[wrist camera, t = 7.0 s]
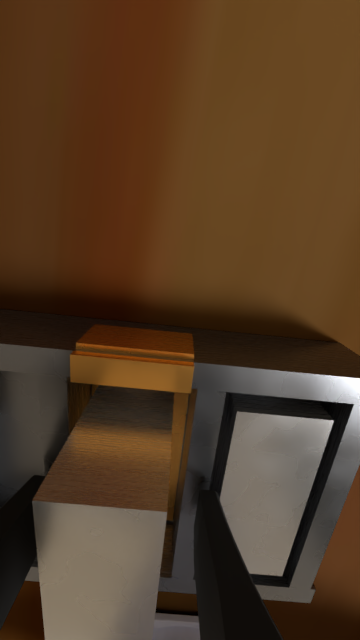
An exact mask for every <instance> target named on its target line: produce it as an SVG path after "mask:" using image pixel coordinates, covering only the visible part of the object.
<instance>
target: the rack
mask: <svg viewBox="0 0 360 640" xmlns="http://www.w3.org/2000/svg"><path fill="white" fill-rule="evenodd" d="M98 385H107V386H118V387H128V388H139V389H149V390H160V391H170V392H174V404H173V421H172V439H171V456H170V474H169V491H168V508H167V519H166V527H165V536H164V544H163V552H162V561H161V569H160V578H159V586H158V591H164V592H176V593H189V594H196V583H195V571H194V521H195V515H196V509H197V503H198V497H199V491H200V489H202V490H213V491H216V492H217V493H218V496H219V499H220V502H221V505H222V508H223V511H224V514H225V517H226V519H227V522H228V524H229V527H230V530H231V532H232V535H233V537H234V540H235V542H236V544H237V547H238V549H239V551H240V553H241V556H242V558H243V560H244V563H245V565H246V567H247V569H248V571H249V573H250V576H251V578H252V580H253V582H254V584H255V586H256V588H257V590H258V592H259V594H260V596H261V598H262V599H264V600H277V601H290V602H302V603H311V600H312V598H313V595H314V593H315V590H316V589H315V586H314V584H313V582H314V579H315V576H316V574H317V571H318V569H319V566H320V564H321V561H322V559H323V556H324V554H325V551H326V548H327V546H328V543H329V541H330V538H331V536H332V533H333V531H334V528H335V525H336V523H337V520H338V518H339V515H340V513H341V510H342V508H343V505H344V503H345V500H346V497H347V495H348V492H349V490H350V487H351V485H352V482H353V480H354V477H355V474H356V472H357V469H358V467H359V464H360V356H359V355H357V354H356V353H354V352H353V351H351V350H350V349H348V348H347V347H345V346H344V345H342V344H341V343H337V342H327V341H317V340H307V339H297V338H287V337H277V336H267V335H257V334H247V333H237V332H227V331H217V330H206V329H196V328H186V327H176V326H166V325H156V324H146V323H136V322H126V321H116V320H106V319H96V318H86V317H76V316H66V315H56V314H46V313H36V312H26V311H16V310H6V309H0V508H1V507H2V506H3V505H4V504H5V503H6V502H7V501H8V500H9V499H10V498H11V497H12V496H13V495H14V494H15V493H16V492H17V491H18V490H19V489H20V488H21V487H22V486H23V485H24V484H25V483H26V482H27V481H28V480H29V479H30V478H31V477H32V476H34V475H42V476H47V474H48V472H49V470H50V469H51V467H52V465H53V463H54V462H55V460H56V458H57V456H58V455H59V453H60V451H61V450H62V448H63V446H64V444H65V443H66V441H67V439H68V437H69V436H70V434H71V432H72V430H73V429H74V427H75V425H76V423H77V422H78V420H79V418H80V417H81V415H82V413H83V411H84V410H85V408H86V406H87V404H88V403H89V401H90V399H91V397H92V396H93V394H94V392H95V391H96V389H97V387H98ZM25 581H38V582H40V580H39V569H38V559H37V556H36V558H35V560H34V562H33V564H32V566H31V568H30V570H29V572H28V574H27V576H26V579H25Z"/></svg>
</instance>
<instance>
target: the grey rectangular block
mask: <svg viewBox="0 0 360 640" xmlns="http://www.w3.org/2000/svg"><path fill="white" fill-rule="evenodd" d="M173 404H174V392H170V391H160V390H149V389H139V388H128V387H118V386H107V385H98V387H97V389H96V391H95V392H94V394H93V396H92V397H91V399H90V401H89V403H88V404H87V406H86V408H85V410H84V411H83V413H82V415H81V417H80V418H79V420H78V422H77V423H76V425H75V427H74V429H73V430H72V432H71V434H70V436H69V437H68V439H67V441H66V443H65V444H64V446H63V448H62V450H61V451H60V453H59V455H58V456H57V458H56V460H55V462H54V463H53V465H52V467H51V469H50V470H49V472H48V474H47V476H46V477H45V479H44V481H43V482H42V484H41V486H40V488H39V489H38V491H37V493H36V495H35V496H34V498H33V500H32V505H33V516H34V526H35V537H36V548H37V559H38V569H39V580H40V591H41V602H42V612H43V623H44V634H45V640H152V637H153V628H154V620H155V611H156V603H157V595H158V586H159V578H160V569H161V561H162V552H163V544H164V536H165V527H166V519H167V508H168V491H169V474H170V456H171V439H172V421H173Z"/></svg>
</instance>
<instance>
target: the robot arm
mask: <svg viewBox="0 0 360 640" xmlns="http://www.w3.org/2000/svg"><path fill="white" fill-rule="evenodd" d="M45 477H46V476H42V475H34V476H32V477H31V478H30V479H29V480H28V481H27V482H26V483H25V484H24V485H23V486H22V487H21V488H20V489H19V490H18V491H17V492H16V493H15V494H14V495H13V496H12V497H11V498H10V499H9V500H8V501H7V502H6V503H5V504H4V505H3V506H2V507H1V508H0V629H1V627H2V625H3V623H4V621H5V619H6V617H7V615H8V613H9V611H10V609H11V607H12V605H13V603H14V601H15V599H16V597H17V595H18V593H19V591H20V589H21V587H22V585H23V583H24V581H25V579H26V576H27V574H28V572H29V570H30V568H31V566H32V564H33V562H34V560H35V558H36V556H37V548H36V537H35V526H34V516H33V505H32V500H33V498H34V496H35V495H36V493H37V491H38V489H39V488H40V486H41V484H42V482H43V481H44V479H45ZM194 571H195V583H196V595H197V606H198V616H191V615H178V614H165V613H155V620H154V628H153V637H152V640H283V638H282V636H281V634H280V632H279V630H278V629H277V627H276V625H275V623H274V621H273V619H272V618H271V616H270V614H269V612H268V610H267V608H266V606H265V604H264V602H263V600H262V598H261V596H260V594H259V592H258V590H257V588H256V586H255V584H254V582H253V580H252V578H251V576H250V573H249V571H248V569H247V567H246V565H245V563H244V560H243V558H242V556H241V553H240V551H239V549H238V547H237V544H236V542H235V540H234V537H233V535H232V532H231V530H230V527H229V524H228V522H227V519H226V517H225V514H224V511H223V508H222V505H221V502H220V499H219V496H218V493H217V492H216V491H213V490H202V489H200V491H199V497H198V503H197V509H196V515H195V521H194Z"/></svg>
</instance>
